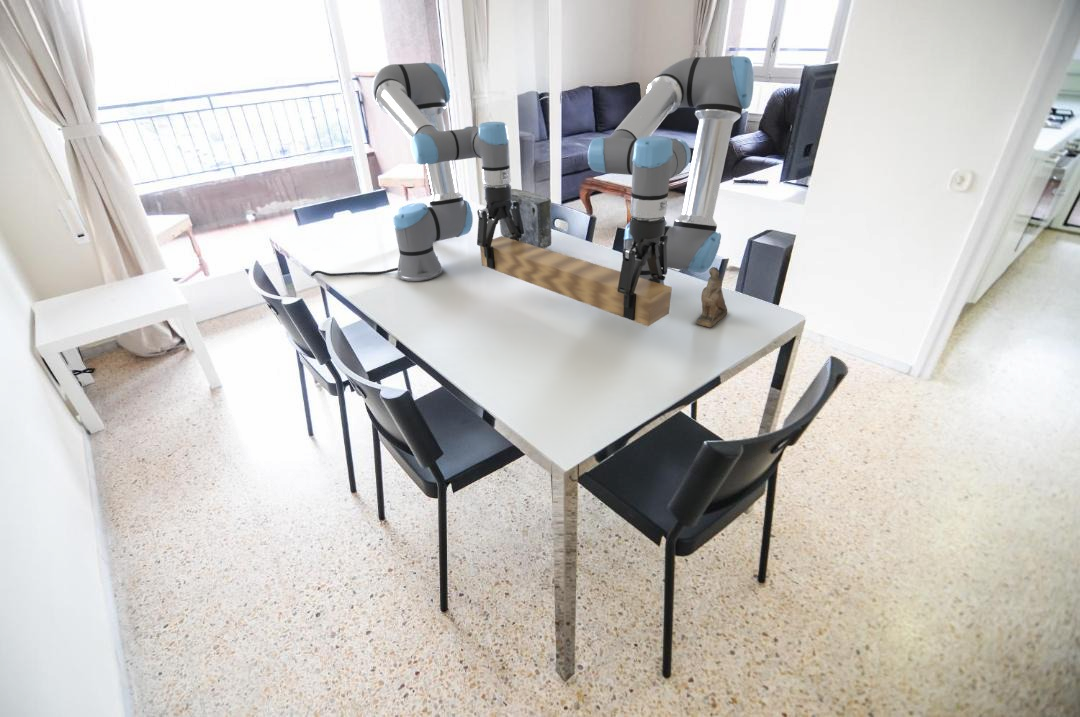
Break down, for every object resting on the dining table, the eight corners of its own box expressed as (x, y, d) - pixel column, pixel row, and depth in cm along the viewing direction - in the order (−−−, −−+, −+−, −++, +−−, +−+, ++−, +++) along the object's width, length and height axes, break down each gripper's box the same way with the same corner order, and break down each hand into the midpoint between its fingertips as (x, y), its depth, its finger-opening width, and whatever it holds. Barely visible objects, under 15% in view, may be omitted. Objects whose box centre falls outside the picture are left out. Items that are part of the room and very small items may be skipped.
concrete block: (556, 252, 190) (555, 199, 179) (537, 257, 186) (535, 203, 175) (517, 236, 209) (515, 187, 198) (500, 240, 204) (496, 190, 194)
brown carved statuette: (709, 335, 136) (713, 280, 124) (691, 329, 139) (693, 274, 128) (730, 313, 142) (736, 258, 130) (712, 307, 145) (716, 253, 133)
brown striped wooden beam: (482, 265, 148) (479, 243, 145) (503, 257, 153) (501, 235, 150) (648, 326, 112) (650, 299, 109) (668, 313, 117) (671, 286, 114)
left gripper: (474, 194, 127) (483, 277, 139) (535, 179, 140) (537, 256, 151) (457, 190, 132) (466, 270, 144) (517, 176, 144) (521, 251, 156)
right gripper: (632, 232, 97) (626, 333, 109) (690, 208, 110) (679, 301, 122) (602, 225, 102) (599, 322, 114) (661, 202, 114) (653, 292, 126)
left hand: (503, 263), depth 148 cm, fingers closed on brown striped wooden beam, 9 cm apart
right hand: (640, 311), depth 118 cm, fingers closed on brown striped wooden beam, 9 cm apart
